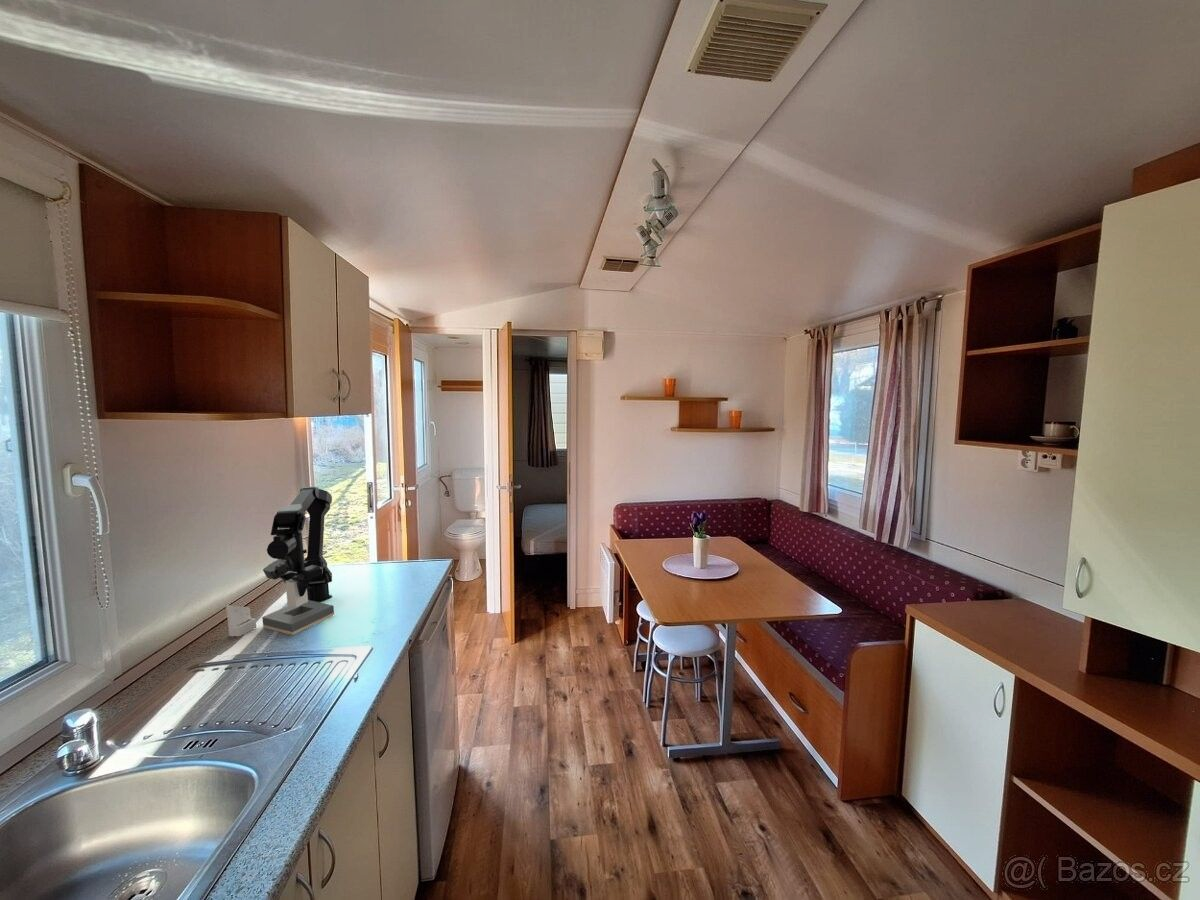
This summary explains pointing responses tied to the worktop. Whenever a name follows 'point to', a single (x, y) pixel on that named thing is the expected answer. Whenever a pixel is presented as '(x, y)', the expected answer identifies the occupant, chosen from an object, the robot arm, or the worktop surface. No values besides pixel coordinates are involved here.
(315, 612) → the socket
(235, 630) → the white wedge bracket
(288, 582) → the plug
